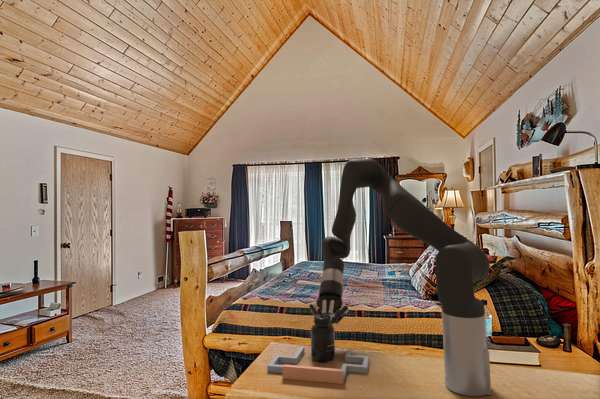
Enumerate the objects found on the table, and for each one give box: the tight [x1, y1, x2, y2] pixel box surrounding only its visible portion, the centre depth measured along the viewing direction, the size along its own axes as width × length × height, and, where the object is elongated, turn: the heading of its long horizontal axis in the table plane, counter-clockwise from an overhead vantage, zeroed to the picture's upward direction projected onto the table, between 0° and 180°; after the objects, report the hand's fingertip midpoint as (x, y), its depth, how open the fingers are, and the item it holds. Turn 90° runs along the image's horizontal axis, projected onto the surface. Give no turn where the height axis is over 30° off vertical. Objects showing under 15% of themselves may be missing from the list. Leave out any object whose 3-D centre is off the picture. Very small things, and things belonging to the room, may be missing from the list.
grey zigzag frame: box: [267, 345, 370, 385], centre depth 97 cm, size 26×18×3 cm
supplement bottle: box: [310, 313, 336, 364], centre depth 102 cm, size 7×7×12 cm
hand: (325, 334), depth 106 cm, fingers closed
